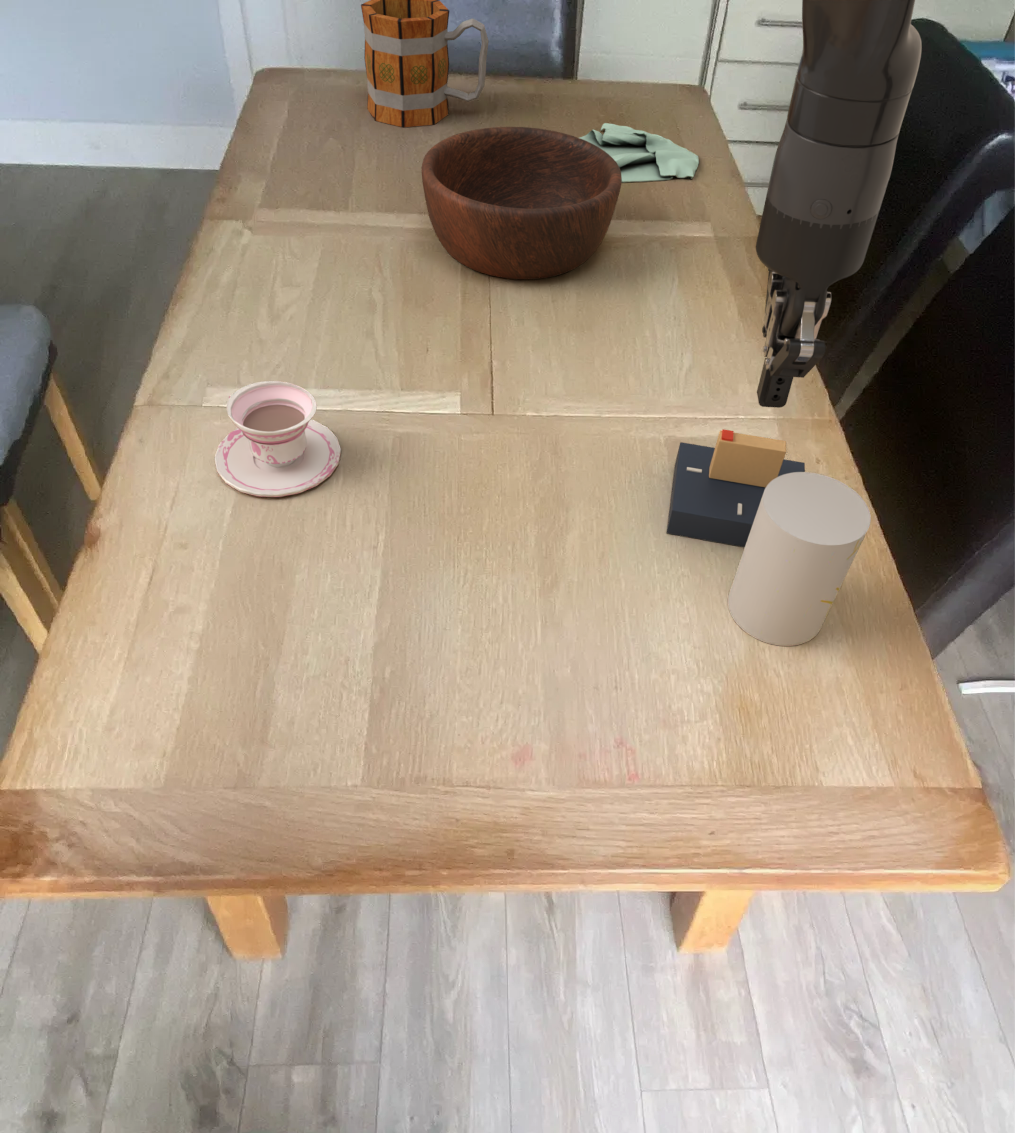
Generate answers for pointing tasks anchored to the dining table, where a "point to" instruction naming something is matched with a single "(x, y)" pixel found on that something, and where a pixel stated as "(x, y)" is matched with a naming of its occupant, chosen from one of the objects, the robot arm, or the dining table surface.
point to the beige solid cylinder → (797, 557)
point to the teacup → (275, 441)
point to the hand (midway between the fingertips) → (770, 401)
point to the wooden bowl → (520, 199)
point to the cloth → (644, 154)
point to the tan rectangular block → (746, 458)
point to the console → (713, 499)
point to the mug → (412, 61)
